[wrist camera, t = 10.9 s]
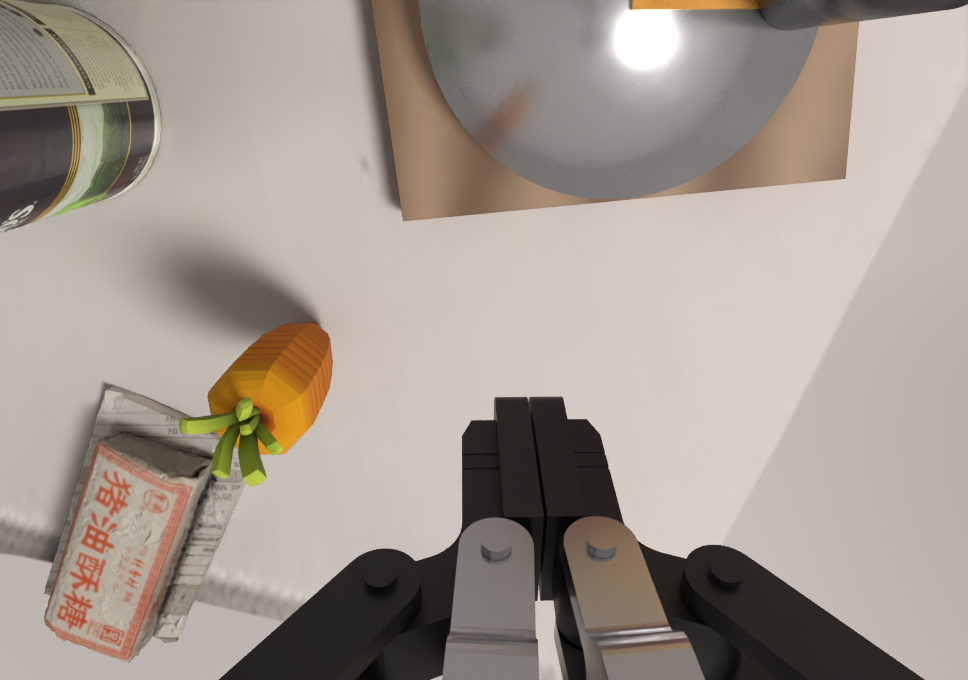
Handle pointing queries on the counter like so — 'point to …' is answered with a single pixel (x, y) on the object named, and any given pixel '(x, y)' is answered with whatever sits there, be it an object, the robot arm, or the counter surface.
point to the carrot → (267, 398)
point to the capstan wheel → (626, 80)
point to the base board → (494, 188)
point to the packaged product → (138, 529)
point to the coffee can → (69, 113)
